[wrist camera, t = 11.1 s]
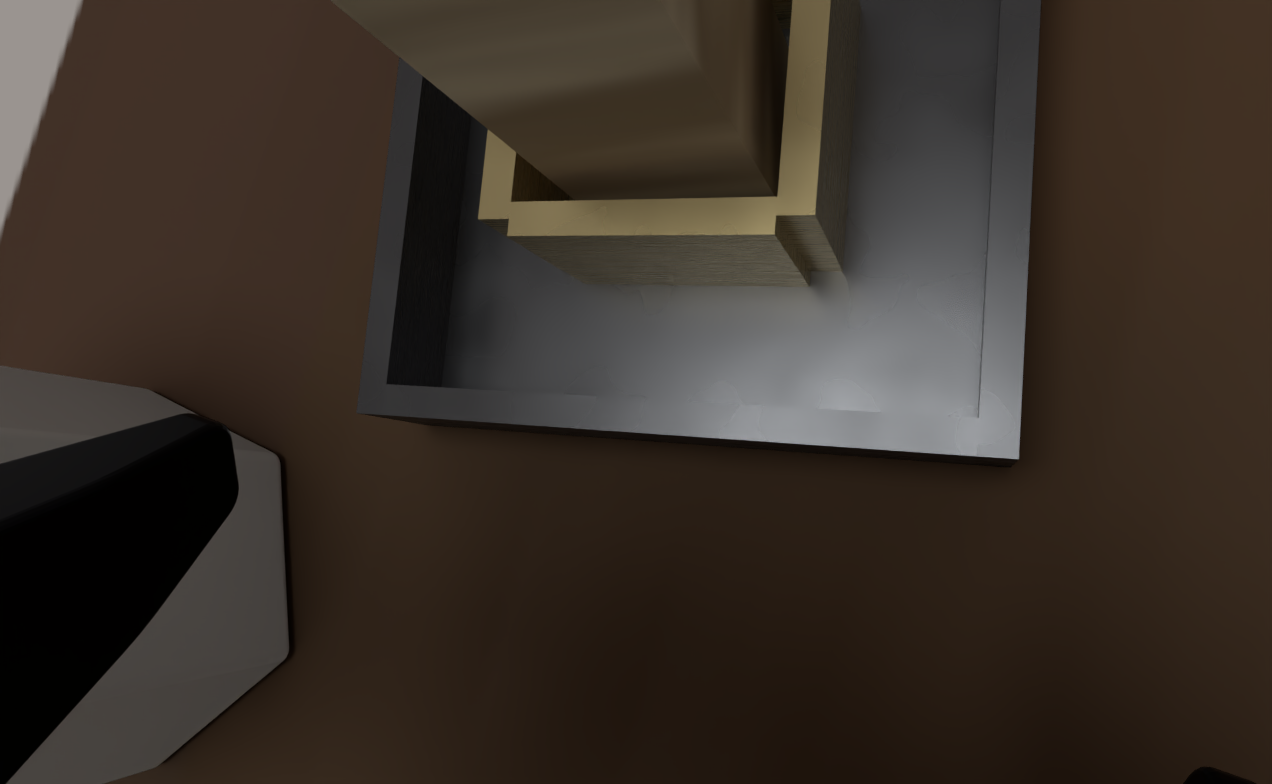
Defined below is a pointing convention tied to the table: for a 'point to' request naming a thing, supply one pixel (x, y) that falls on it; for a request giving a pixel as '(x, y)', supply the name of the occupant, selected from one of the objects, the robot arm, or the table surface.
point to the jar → (190, 617)
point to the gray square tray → (737, 261)
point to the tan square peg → (609, 87)
